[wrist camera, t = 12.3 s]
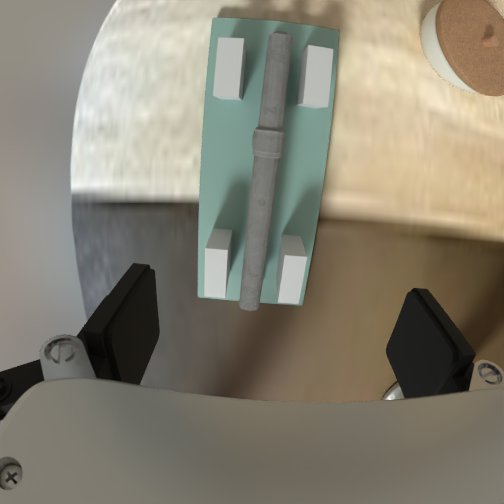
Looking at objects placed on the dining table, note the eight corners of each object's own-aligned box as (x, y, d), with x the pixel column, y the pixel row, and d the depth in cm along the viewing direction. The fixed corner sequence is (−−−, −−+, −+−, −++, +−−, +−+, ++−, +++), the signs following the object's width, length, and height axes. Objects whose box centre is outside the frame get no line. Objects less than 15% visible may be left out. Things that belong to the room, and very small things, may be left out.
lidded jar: (389, 14, 23) (429, -12, 14) (458, 6, 21) (504, -11, 12) (426, 103, 27) (476, 105, 18) (489, 87, 25) (541, 89, 16)
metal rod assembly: (262, 287, 35) (262, 313, 30) (237, 284, 35) (234, 311, 30) (293, 43, 24) (300, 30, 19) (264, 39, 24) (264, 25, 19)
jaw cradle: (335, 33, 24) (353, 16, 19) (300, 298, 37) (307, 332, 31) (214, 21, 24) (203, 0, 18) (200, 290, 37) (189, 323, 31)
